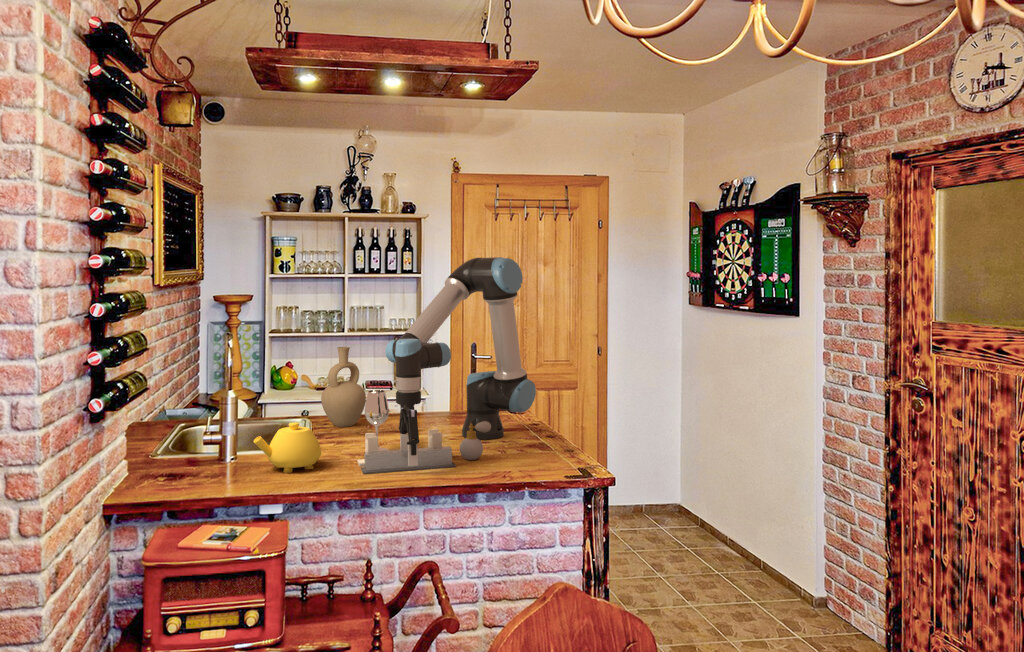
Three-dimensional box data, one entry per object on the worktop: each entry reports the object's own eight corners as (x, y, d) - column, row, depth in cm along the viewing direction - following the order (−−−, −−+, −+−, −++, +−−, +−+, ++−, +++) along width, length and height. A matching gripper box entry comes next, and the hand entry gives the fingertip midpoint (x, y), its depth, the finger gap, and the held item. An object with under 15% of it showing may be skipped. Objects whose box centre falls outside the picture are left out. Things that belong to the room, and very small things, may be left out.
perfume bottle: (454, 458, 250) (454, 421, 249) (480, 454, 256) (480, 417, 255) (468, 463, 244) (468, 425, 243) (493, 458, 250) (493, 421, 249)
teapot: (262, 479, 224) (261, 432, 223) (246, 468, 237) (245, 423, 236) (329, 469, 236) (328, 424, 235) (309, 459, 248) (309, 416, 247)
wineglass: (384, 454, 254) (383, 393, 253) (361, 453, 256) (360, 392, 254) (392, 449, 262) (392, 389, 260) (370, 447, 264) (369, 388, 262)
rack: (445, 456, 253) (445, 428, 252) (449, 460, 247) (449, 432, 246) (357, 462, 244) (357, 433, 244) (359, 467, 238) (359, 438, 238)
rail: (449, 462, 243) (449, 446, 243) (451, 465, 240) (451, 448, 239) (364, 468, 235) (364, 451, 235) (366, 471, 232) (366, 454, 231)
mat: (451, 462, 245) (451, 460, 245) (456, 467, 239) (456, 465, 239) (360, 469, 236) (360, 467, 236) (363, 474, 230) (363, 472, 230)
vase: (345, 419, 311) (344, 344, 309) (375, 424, 302) (374, 347, 299) (312, 426, 298) (311, 347, 296) (342, 432, 288) (341, 350, 286)
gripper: (389, 384, 246) (389, 451, 248) (403, 397, 223) (403, 471, 224) (412, 383, 249) (413, 450, 250) (429, 396, 225) (429, 469, 227)
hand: (408, 460), depth 237 cm, fingers open, 13 cm apart
